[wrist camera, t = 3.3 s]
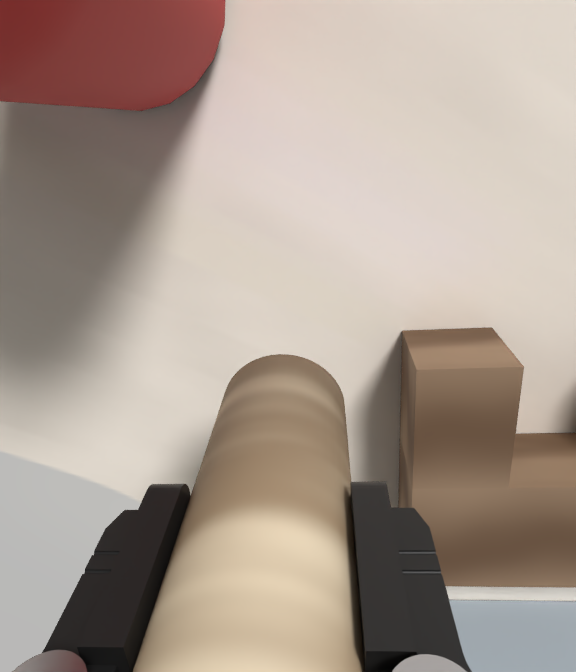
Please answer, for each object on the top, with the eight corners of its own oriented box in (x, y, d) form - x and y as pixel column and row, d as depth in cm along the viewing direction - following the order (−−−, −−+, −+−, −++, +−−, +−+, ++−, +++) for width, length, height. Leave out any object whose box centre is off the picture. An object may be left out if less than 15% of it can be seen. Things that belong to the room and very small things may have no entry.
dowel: (216, 356, 14) (-151, 1248, 3) (343, 352, 14) (441, 1313, 3) (230, 459, 15) (14, 1314, 4) (345, 456, 15) (415, 1366, 4)
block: (402, 330, 20) (416, 369, 17) (722, 319, 19) (801, 359, 16) (397, 524, 24) (409, 585, 21) (664, 523, 23) (719, 588, 20)
